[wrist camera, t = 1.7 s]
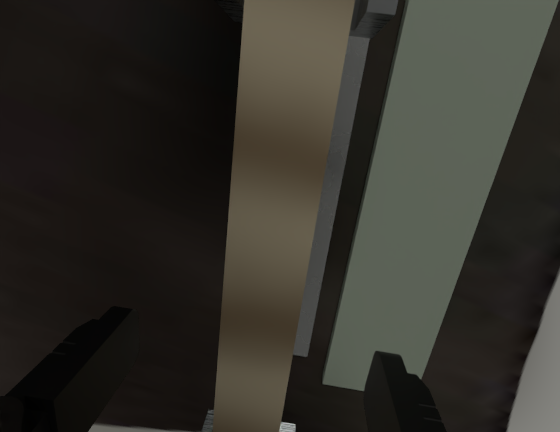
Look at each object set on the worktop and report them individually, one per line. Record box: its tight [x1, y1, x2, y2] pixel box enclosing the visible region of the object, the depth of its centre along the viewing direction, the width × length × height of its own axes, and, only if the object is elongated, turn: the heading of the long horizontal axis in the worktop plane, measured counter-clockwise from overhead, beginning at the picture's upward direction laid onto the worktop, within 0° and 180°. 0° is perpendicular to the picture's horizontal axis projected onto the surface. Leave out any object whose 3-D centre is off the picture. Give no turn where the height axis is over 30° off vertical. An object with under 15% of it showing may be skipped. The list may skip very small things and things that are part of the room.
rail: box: [212, 0, 355, 432], centre depth 14 cm, size 32×3×3 cm, turn 173°
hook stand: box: [201, 0, 398, 432], centre depth 20 cm, size 30×8×15 cm, turn 173°
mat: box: [322, 0, 559, 391], centre depth 26 cm, size 36×9×1 cm, turn 173°
